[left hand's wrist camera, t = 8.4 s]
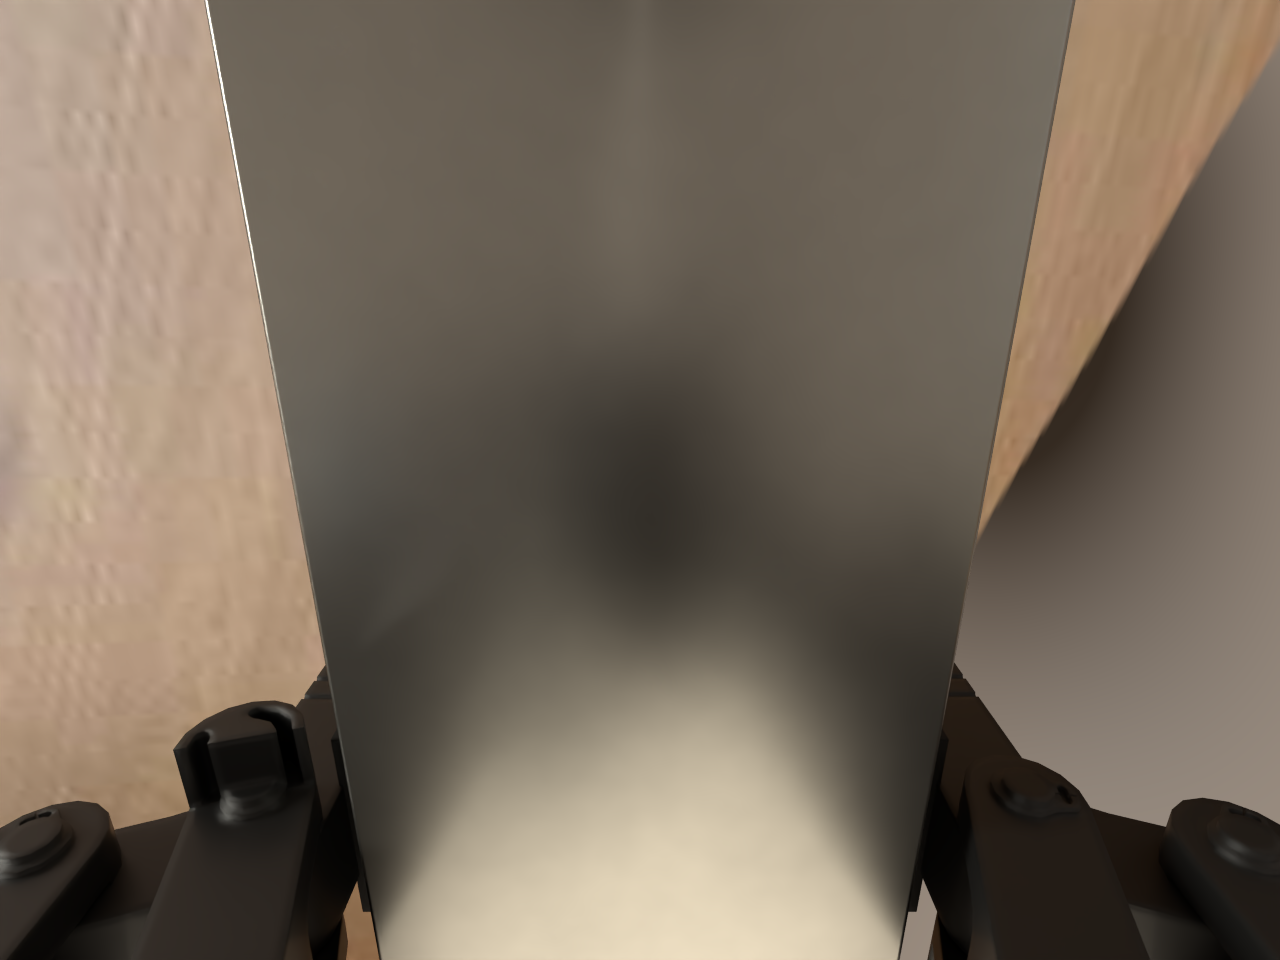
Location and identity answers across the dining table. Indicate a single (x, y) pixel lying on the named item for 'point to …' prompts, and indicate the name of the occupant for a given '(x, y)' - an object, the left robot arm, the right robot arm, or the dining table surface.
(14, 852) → the left robot arm
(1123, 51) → the dining table surface
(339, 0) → the bar
